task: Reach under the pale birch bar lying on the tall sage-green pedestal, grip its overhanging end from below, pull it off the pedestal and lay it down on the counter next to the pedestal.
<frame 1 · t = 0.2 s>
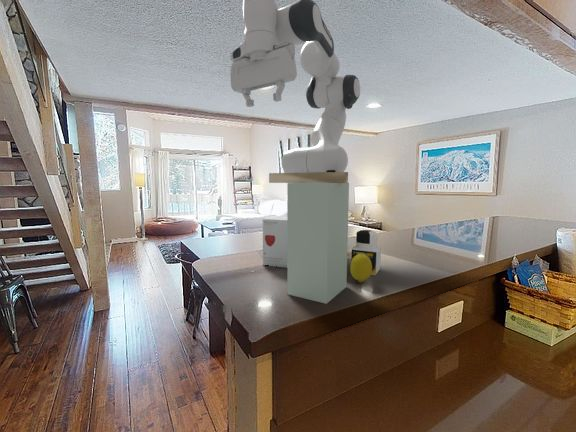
hand: (263, 103, 80), 48 cm above the countertop, tool pointing down, fingers open, 8 cm apart
pedestal: (317, 290, 71), on the countertop
wine bottle: (329, 260, 98), on the countertop
supplement box: (280, 263, 95), on the countertop
birch bar: (306, 182, 70), point 26 cm above the countertop, touching pedestal
lemon: (360, 283, 77), on the countertop
medicine bottle: (365, 271, 87), on the countertop
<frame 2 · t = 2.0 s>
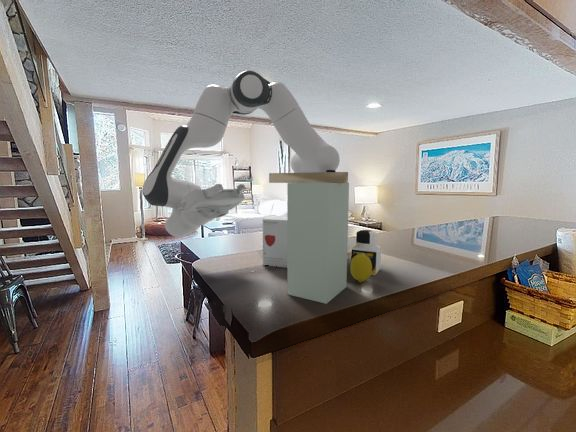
hand: (232, 186, 82), 25 cm above the countertop, tool pointing upward, fingers open, 8 cm apart
nothing on the countertop moved.
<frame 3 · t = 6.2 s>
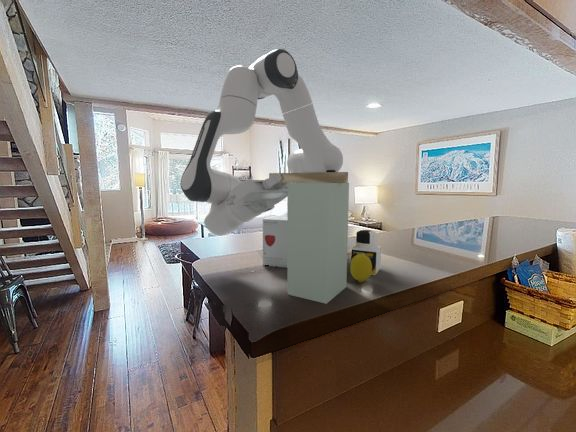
hand: (285, 176, 72), 28 cm above the countertop, tool pointing upward, fingers closed on birch bar, 2 cm apart
birch bar: (306, 182, 70), point 26 cm above the countertop, touching gripper, pedestal
everything else where it was.
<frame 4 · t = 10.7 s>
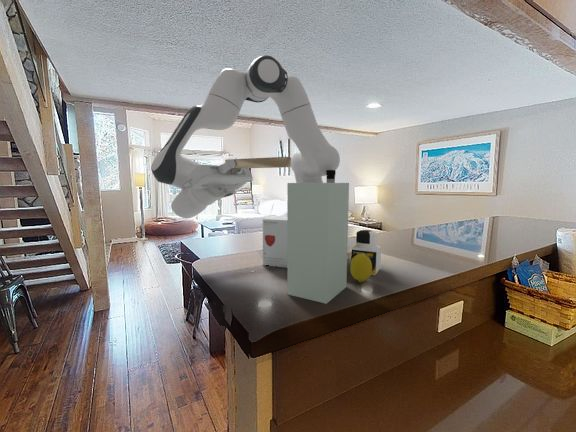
hand: (239, 162, 80), 32 cm above the countertop, tool pointing upward, fingers closed on birch bar, 2 cm apart
birch bar: (256, 167, 77), point 30 cm above the countertop, touching gripper
everything else where it was.
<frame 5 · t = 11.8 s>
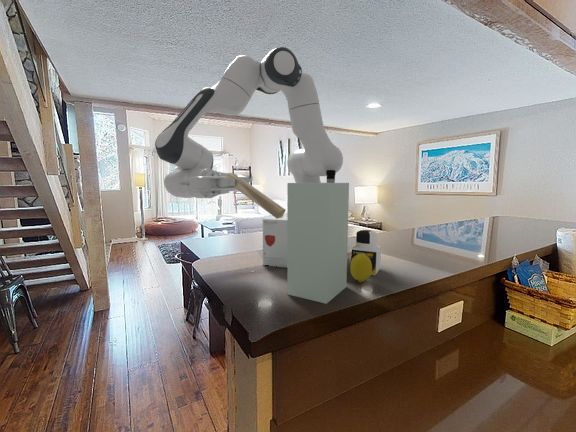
hand: (240, 182, 81), 26 cm above the countertop, tool horizontal, fingers closed on birch bar, 2 cm apart
birch bar: (252, 198, 79), point 22 cm above the countertop, tilted 29°, touching gripper
everything else where it was.
when the fingers open (11 cm above the countertop, at t = 15.1 s): birch bar drops 7 cm, on the countertop.
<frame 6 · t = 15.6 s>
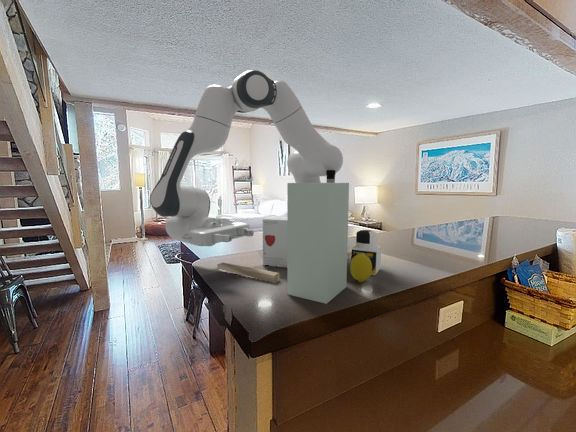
hand: (241, 236, 82), 11 cm above the countertop, tool horizontal, fingers open, 8 cm apart
birch bar: (247, 276, 82), on the countertop
everything else where it was.
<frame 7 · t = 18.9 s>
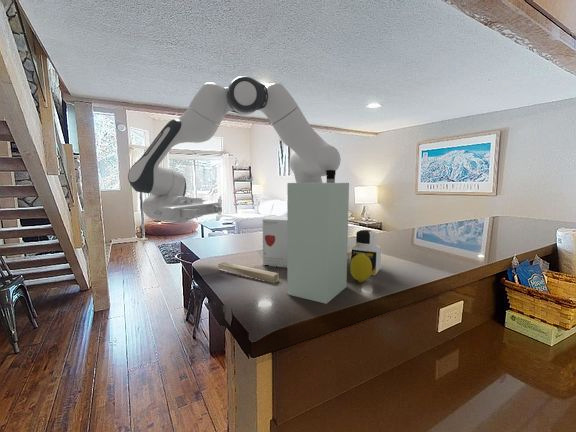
hand: (209, 211, 88), 17 cm above the countertop, tool horizontal, fingers open, 8 cm apart
nothing on the countertop moved.
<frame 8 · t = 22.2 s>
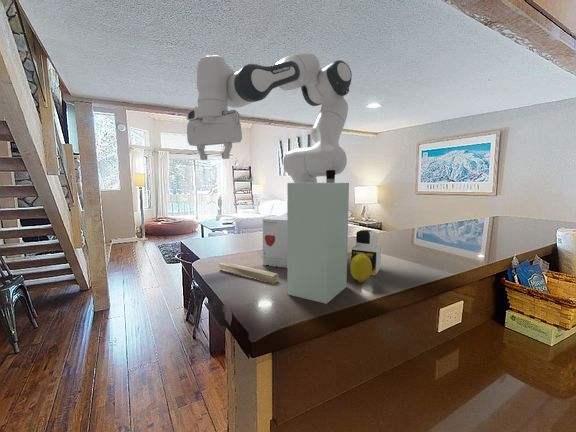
hand: (214, 159, 90), 33 cm above the countertop, tool pointing down, fingers open, 8 cm apart
nothing on the countertop moved.
at the end: birch bar inside the target area (2.0 cm from its centre), on the countertop; birch bar on the countertop; the gripper is holding nothing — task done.
